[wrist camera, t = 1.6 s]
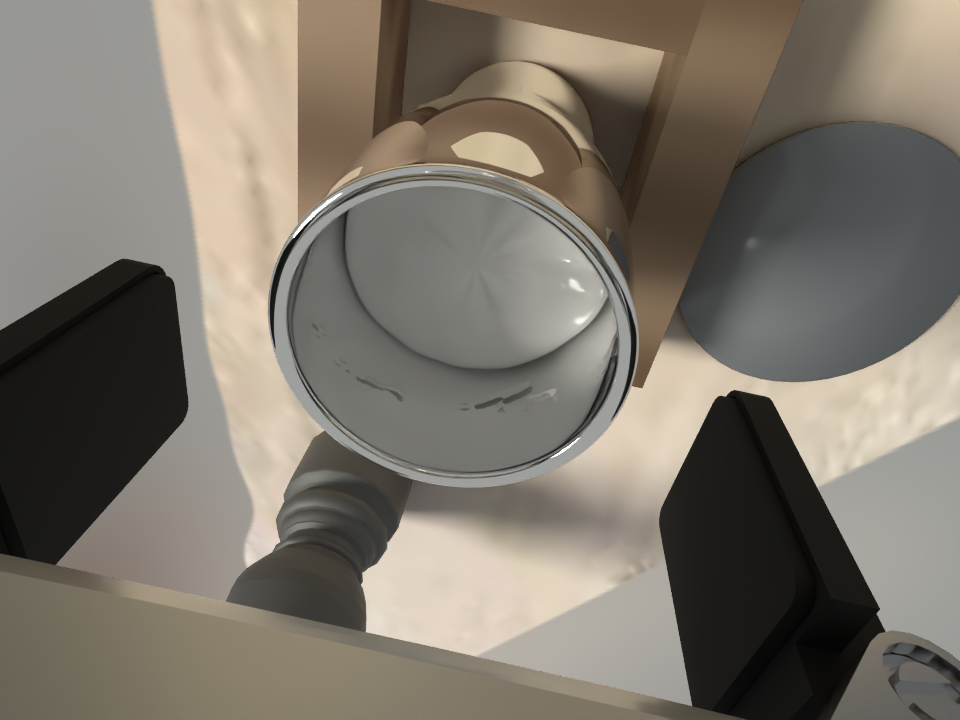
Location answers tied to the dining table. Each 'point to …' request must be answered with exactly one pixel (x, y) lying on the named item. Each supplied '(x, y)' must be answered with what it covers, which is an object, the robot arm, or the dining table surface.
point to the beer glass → (465, 288)
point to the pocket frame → (662, 139)
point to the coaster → (828, 253)
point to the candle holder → (326, 538)
